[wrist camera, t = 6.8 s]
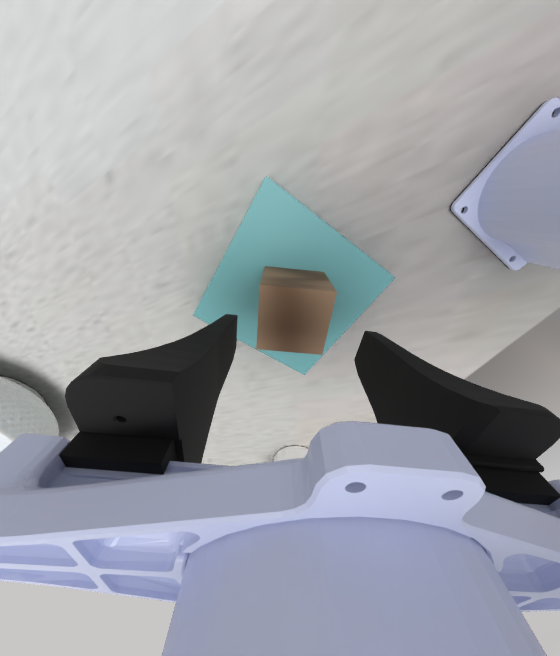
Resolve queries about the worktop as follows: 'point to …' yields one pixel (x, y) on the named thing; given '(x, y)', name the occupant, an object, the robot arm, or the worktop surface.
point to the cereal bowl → (23, 412)
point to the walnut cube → (294, 310)
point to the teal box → (295, 253)
